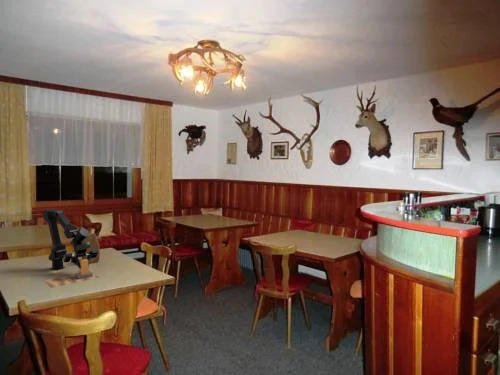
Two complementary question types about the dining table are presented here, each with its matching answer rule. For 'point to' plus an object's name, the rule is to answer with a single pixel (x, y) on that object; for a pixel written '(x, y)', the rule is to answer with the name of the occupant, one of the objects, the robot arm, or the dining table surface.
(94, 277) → the board
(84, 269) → the sanding block
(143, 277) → the dining table surface
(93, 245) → the bread loaf
